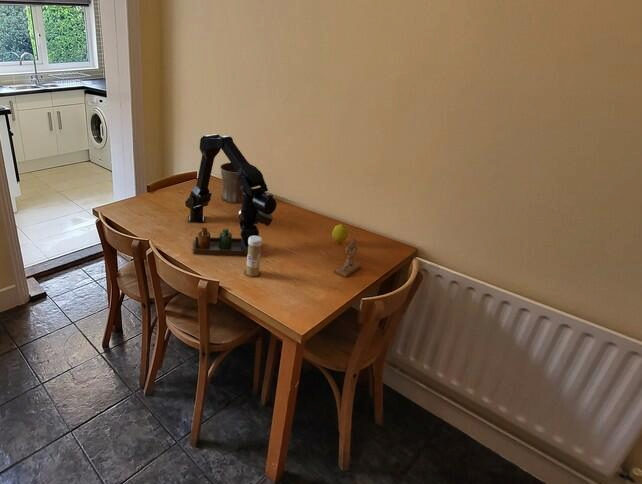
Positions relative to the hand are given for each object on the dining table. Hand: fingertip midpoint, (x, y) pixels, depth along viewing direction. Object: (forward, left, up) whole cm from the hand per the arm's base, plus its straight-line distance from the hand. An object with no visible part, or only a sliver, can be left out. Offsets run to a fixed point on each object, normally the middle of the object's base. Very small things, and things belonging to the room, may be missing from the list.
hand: (246, 243), depth 154 cm
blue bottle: (0, 0, -2) cm, 2 cm away
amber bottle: (0, -16, -2) cm, 16 cm away
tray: (0, -8, -2) cm, 8 cm away
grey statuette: (+12, +34, -3) cm, 36 cm away
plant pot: (-52, -2, -3) cm, 52 cm away
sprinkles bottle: (+17, +1, -3) cm, 17 cm away
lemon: (-8, +36, -3) cm, 37 cm away
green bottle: (0, -8, -2) cm, 8 cm away
